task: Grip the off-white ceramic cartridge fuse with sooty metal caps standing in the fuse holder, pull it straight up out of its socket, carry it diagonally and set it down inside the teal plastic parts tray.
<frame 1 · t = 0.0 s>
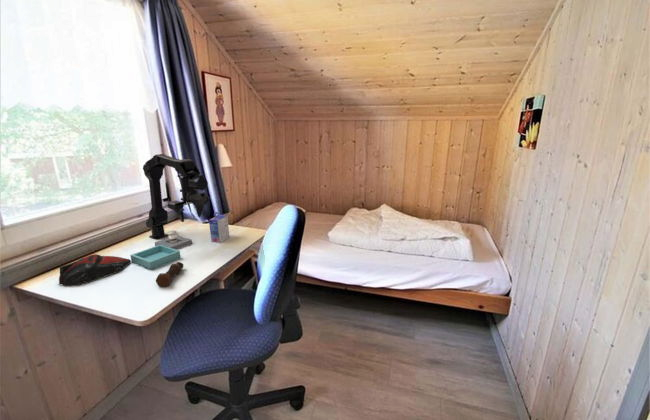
hand: (191, 219, 150), 15 cm above the table, fingers open, 9 cm apart
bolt: (173, 278, 125), on the table
ink cartridge box: (220, 239, 166), on the table
fuse: (173, 238, 156), in the fuse holder
parts tray: (156, 260, 140), on the table
fuse holder: (173, 245, 157), on the table
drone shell: (96, 274, 127), on the table
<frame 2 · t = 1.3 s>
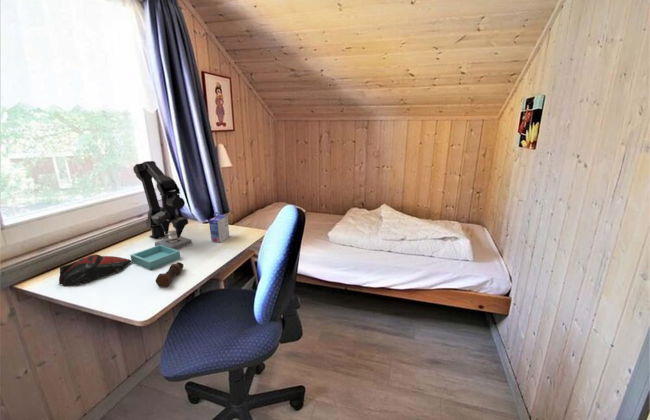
hand: (172, 235, 155), 5 cm above the table, fingers open, 9 cm apart
nothing on the table moved.
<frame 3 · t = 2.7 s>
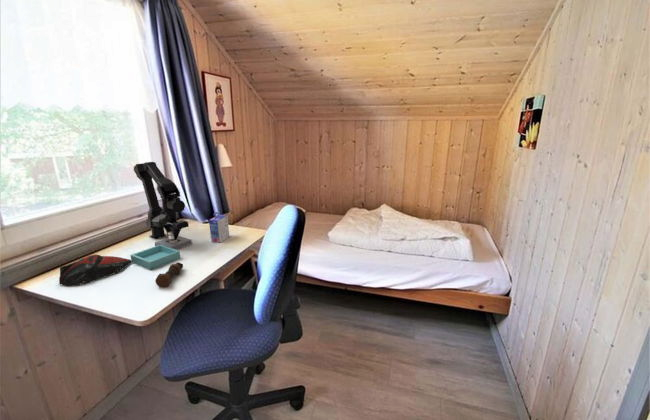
hand: (173, 238, 156), 4 cm above the table, fingers closed on fuse, 4 cm apart
fuse: (173, 238, 156), in the fuse holder, touching gripper
everything else where it was.
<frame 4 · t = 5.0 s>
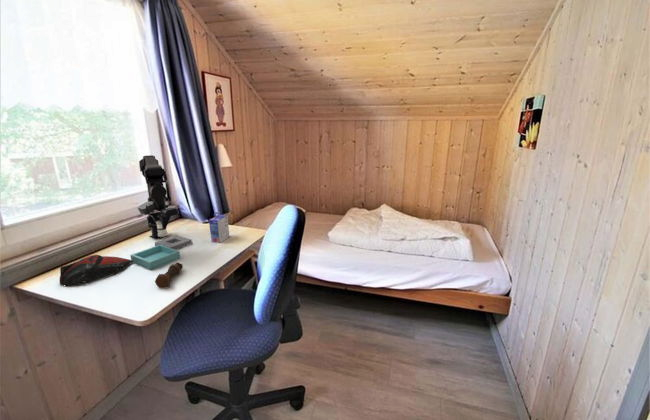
hand: (161, 228, 143), 13 cm above the table, fingers closed on fuse, 4 cm apart
fuse: (161, 228, 143), point 13 cm above the table, touching gripper
everything else where it was.
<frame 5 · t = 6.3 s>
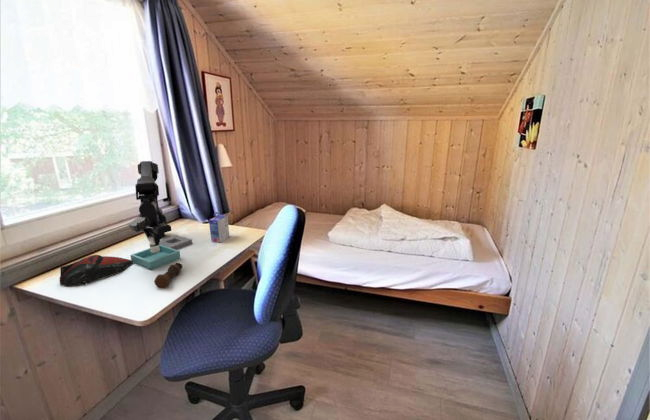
hand: (154, 244, 138), 8 cm above the table, fingers closed on fuse, 4 cm apart
fuse: (154, 244, 138), point 8 cm above the table, touching gripper
everything else where it was.
when the fingers open (5 cm above the table, at t = 7.4 s): fuse drops 1 cm, resting on parts tray.
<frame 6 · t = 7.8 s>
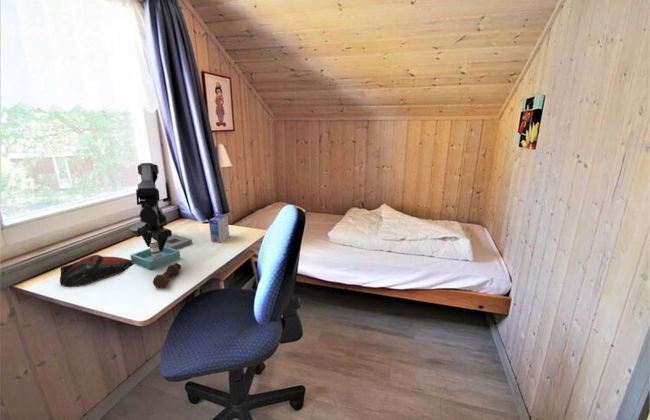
hand: (154, 248, 138), 5 cm above the table, fingers open, 8 cm apart
fuse: (155, 251, 139), in the parts tray, point 4 cm above the table
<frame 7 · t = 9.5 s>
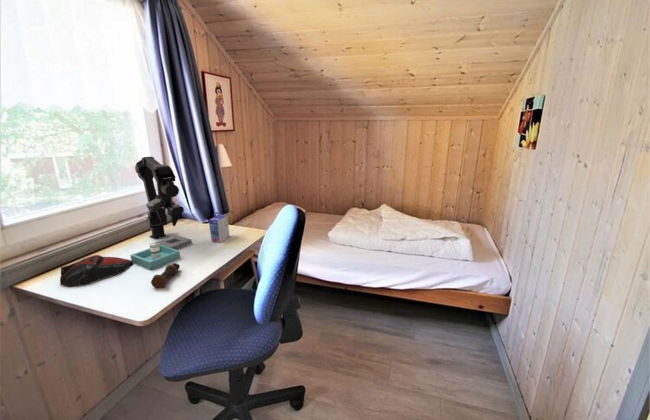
hand: (168, 223, 152), 12 cm above the table, fingers open, 9 cm apart
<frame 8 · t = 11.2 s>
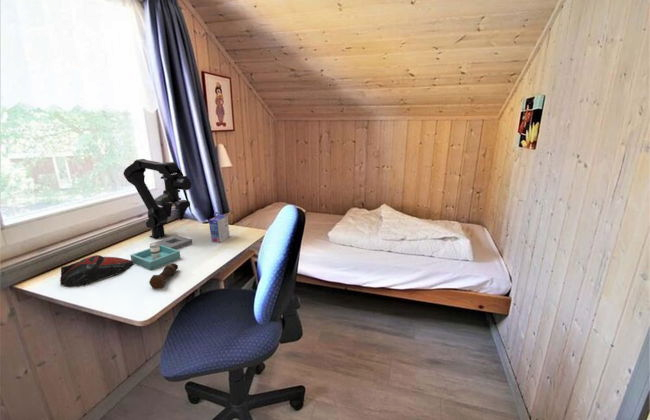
hand: (175, 218, 159), 12 cm above the table, fingers open, 9 cm apart
at the end: fuse inside the target area on the parts tray (0.1 cm from its centre), point 4.3 cm above the parts tray's base; the gripper is holding nothing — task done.
